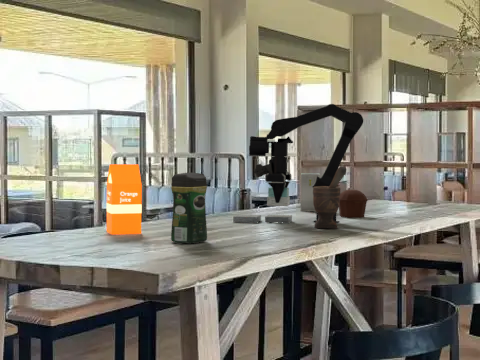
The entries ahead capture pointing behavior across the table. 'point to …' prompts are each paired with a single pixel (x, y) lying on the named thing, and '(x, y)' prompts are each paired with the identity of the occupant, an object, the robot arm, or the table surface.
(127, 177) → the orange juice
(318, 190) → the mortar and pestle
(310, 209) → the circuit breaker
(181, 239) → the coffee jar
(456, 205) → the table surface
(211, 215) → the table surface
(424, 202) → the table surface
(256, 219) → the stand
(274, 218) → the stand
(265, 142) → the robot arm
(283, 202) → the housing
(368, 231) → the table surface
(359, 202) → the muffin
